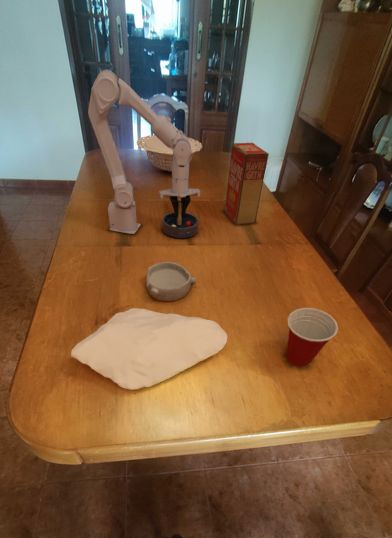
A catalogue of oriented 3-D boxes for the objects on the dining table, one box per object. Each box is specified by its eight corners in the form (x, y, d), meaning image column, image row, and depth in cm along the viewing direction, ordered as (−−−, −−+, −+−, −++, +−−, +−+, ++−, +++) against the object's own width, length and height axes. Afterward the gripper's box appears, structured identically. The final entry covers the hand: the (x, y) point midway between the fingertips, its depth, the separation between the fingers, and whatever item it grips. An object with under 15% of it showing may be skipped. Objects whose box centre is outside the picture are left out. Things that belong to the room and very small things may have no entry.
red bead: (183, 221, 120) (188, 218, 119) (187, 224, 122) (191, 221, 121) (185, 226, 119) (189, 223, 118) (188, 229, 121) (192, 226, 120)
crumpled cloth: (75, 323, 80) (66, 298, 72) (208, 307, 87) (213, 282, 79) (79, 408, 67) (69, 389, 60) (234, 381, 74) (242, 360, 67)
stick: (176, 225, 119) (176, 203, 113) (177, 222, 120) (178, 201, 115) (180, 225, 119) (181, 204, 113) (182, 223, 120) (182, 202, 114)
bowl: (157, 235, 116) (157, 224, 113) (168, 220, 125) (168, 209, 122) (193, 242, 114) (194, 231, 111) (201, 225, 123) (202, 215, 120)
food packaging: (222, 210, 134) (231, 142, 116) (243, 209, 136) (254, 141, 118) (235, 225, 125) (246, 153, 107) (256, 223, 128) (271, 153, 110)
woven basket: (174, 158, 177) (174, 131, 168) (213, 175, 162) (216, 147, 153) (125, 168, 161) (122, 139, 152) (164, 188, 146) (164, 157, 137)
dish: (155, 308, 88) (154, 293, 84) (137, 280, 96) (136, 266, 92) (201, 295, 93) (202, 281, 89) (180, 270, 101) (181, 256, 97)
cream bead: (170, 231, 117) (170, 225, 116) (171, 228, 119) (171, 223, 117) (175, 232, 117) (175, 226, 115) (177, 229, 118) (177, 224, 117)
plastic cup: (270, 342, 81) (282, 306, 73) (310, 342, 83) (327, 306, 74) (281, 376, 74) (296, 340, 65) (325, 374, 75) (346, 339, 66)
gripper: (162, 182, 103) (162, 223, 113) (204, 180, 107) (201, 220, 117) (157, 174, 108) (158, 214, 118) (197, 173, 112) (195, 211, 121)
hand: (179, 216), depth 118 cm, fingers closed on stick, 2 cm apart
